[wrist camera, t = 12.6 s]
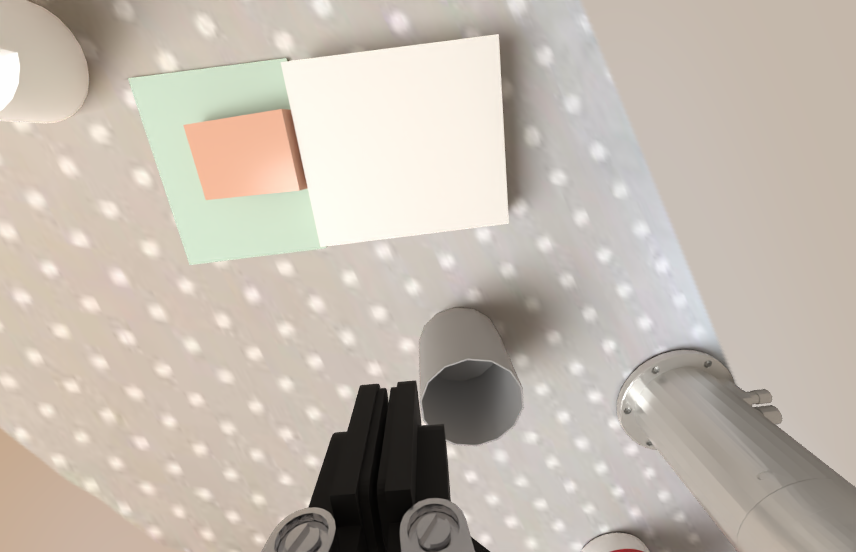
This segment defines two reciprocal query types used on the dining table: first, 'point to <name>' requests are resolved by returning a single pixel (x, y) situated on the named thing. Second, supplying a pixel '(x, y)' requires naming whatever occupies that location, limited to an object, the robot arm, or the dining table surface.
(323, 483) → the robot arm
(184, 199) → the mat
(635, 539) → the fruit juice
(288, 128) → the tile
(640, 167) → the dining table surface
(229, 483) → the dining table surface
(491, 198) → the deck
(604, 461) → the dining table surface
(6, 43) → the cylinder with rectangular tab
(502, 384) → the cup
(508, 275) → the dining table surface
